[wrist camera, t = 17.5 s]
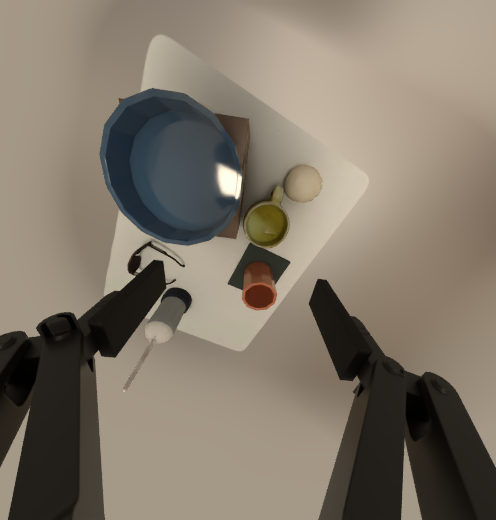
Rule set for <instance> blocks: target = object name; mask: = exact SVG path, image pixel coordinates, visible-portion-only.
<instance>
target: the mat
mask: <svg viewBox="0 0 496 520" xmlns="http://www.w3.org/2000/svg"><path fill="white" fill-rule="evenodd" d="M253 262H263V263H266V264H267V265H268V266H269V267H270V268H271V271H272V273H273V277H274V282H275V284H276V282H277V281H278V280H279V278H280V277H281V275H282V274H283V272H284V271H285V270H286V268H287V267H288V265H289V264H290V261H288V260H286V259H284V258H282V257H280V256H277V255H275V254H273V253H271V252H269V251H267V250H265V249H263V248H261V247H258V246H256V245H253V244H252V243H251V242H250V244H249V245H248V247H247V249H246V251H245V253H244V255H243V256H242V258H241V260H240V262H239V264H238V266H237V267H236V269H235V271H234V273H233V275H232V277H231V278H230V280H229V282H228V284H229V285H231V286H234V287H236V288H239V289H241V290H243V279H244V271H245V269H246V267H247V266H248V265H249V264H251V263H253Z"/></svg>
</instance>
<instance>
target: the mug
mask: <svg viewBox="0 0 496 520" xmlns="http://www.w3.org/2000/svg"><path fill="white" fill-rule="evenodd" d="M283 193H284V189H283V188H282V187H281V186H278V185H276V186H275V188H274V189H273V191H272V193H271V196H270V199H269V200H268V201H261V202H258V203H256V204H254V205H252V206H251V207H250V208H249V209H248V210H247V212H246V214H245V216H244V219H243V228H244V231H245V234H246V236H247V238H248V240H249V241H250V242H251V243H252V244H253V245H256V246H258V247H261V248H272V247H275V246H277V245H278V244H280V243H281V242H282V241H283V240H284V239H285V237H286V235H287V233H288V230H289V224H290V223H289V217H288V214H287V213H286V211H285V210H284V209H283V208H282V207H281V205H280V202H281V200H282V198H283Z"/></svg>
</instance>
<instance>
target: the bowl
mask: <svg viewBox="0 0 496 520" xmlns="http://www.w3.org/2000/svg"><path fill="white" fill-rule="evenodd" d="M123 100H124V101H123ZM123 100H122V101H121V103H120V104H119V105H118V107H117V108H116V110H115V111H114V112H113V113H112V115H111V116H110V117H109V119H108V120H107V122H106V123H105V124H106V125H104V130H103V136H102V143H101V149H100V159H101V164H102V169H103V174H104V178H105V183H106V185H107V188H108V190H109V191H110V193H111V195H112V197H113V198H114V200H115V202H116V204H117V205H118V207H119V209H120V211H121V212H122V213H123V214H124V215H125V216H126V217H127V218H128V219H129V220H130V221H131V222H132V223H133V224H134V225H135V226H137V227H138V228H139V229H140V230H141V231H142V232H144V233H146V234H148V235H150V236H152V237H154V238H156V239H158V240H160V241H162V242H165V243H171V244H179V245H187V246H189V245H193V244H197V243H201V242H205V241H209V240H211V239H212V238H213V237H215V236H216V235H217V234H219V233H220V232H221V231H222V230H224V229H225V228H226V227H227V226H228V225H229V223H230V221H231V220H232V218H233V216H234V214H235V212H236V210H237V208H238V207H239V205H240V202H241V199H242V191H243V181H244V172H243V168H242V164H241V160H240V156H239V152H238V149H237V147H236V145H235V144H234V142H233V141H232V139H231V138H230V136H229V135H228V133H227V132H226V130H225V129H224V127H223V126H222V124H221V123H220V121H219V120H218V118H217V117H216V115H214V113H212V112H211V111H209V110H208V109H207V108H205V107H204V106H202V105H201V104H199V103H198V102H196V101H195V100H194V99H192V98H191V97H189V96H188V95H186V94H184V93H179V92H173V91H166V90H160V89H154V88H152V89H148V90H145V91H143V92H140V93H138V94H135V95H133V96H130V97H128V98H125V99H123Z"/></svg>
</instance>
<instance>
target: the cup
mask: <svg viewBox="0 0 496 520" xmlns="http://www.w3.org/2000/svg"><path fill="white" fill-rule="evenodd" d="M276 297H277V292H276V287H275V282H274V277H273V273H272V271H271V268H270V267H269V266H268V265H267V264H266V263H263V262H253V263H251V264H249V265H248V266H247V267H246V269H245V271H244V279H243V291H242V300H243V301H244V303H245V304H246V306H247V307H249V308H252V309H254V310H264V309H268V308H269V307H270V306H272V305H273V304H274V303H275V301H276Z"/></svg>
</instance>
